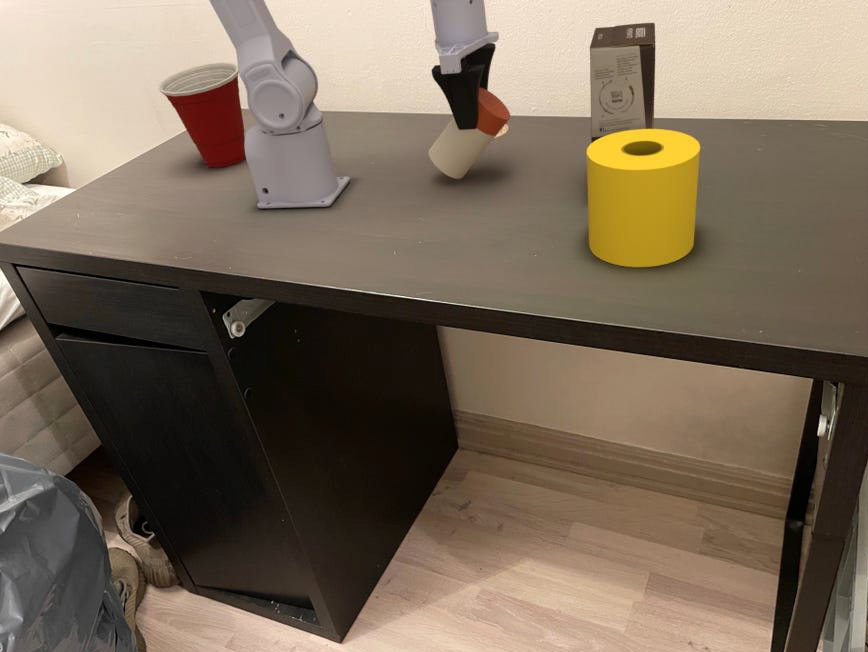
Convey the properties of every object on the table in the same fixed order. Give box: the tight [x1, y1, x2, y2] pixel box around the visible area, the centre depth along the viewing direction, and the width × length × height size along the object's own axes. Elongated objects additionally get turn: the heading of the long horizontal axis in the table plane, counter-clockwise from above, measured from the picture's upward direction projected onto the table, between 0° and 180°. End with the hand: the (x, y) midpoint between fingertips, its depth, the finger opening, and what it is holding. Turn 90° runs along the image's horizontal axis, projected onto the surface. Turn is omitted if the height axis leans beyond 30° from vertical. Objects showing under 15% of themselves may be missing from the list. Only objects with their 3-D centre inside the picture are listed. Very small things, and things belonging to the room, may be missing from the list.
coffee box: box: [589, 22, 656, 144], centre depth 79 cm, size 9×6×16 cm
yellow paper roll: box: [586, 128, 701, 268], centre depth 69 cm, size 10×10×9 cm
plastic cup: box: [157, 62, 246, 168], centre depth 102 cm, size 11×11×12 cm
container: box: [428, 87, 511, 180], centre depth 87 cm, size 5×5×10 cm
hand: (472, 120), depth 86 cm, fingers closed on container, 5 cm apart
